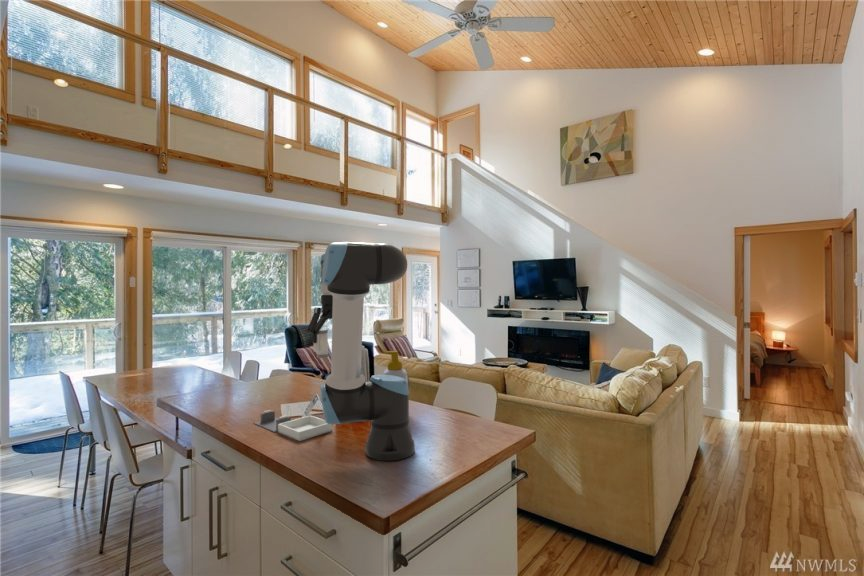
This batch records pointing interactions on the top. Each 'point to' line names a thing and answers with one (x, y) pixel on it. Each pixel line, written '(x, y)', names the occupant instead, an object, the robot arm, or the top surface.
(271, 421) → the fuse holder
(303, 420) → the parts tray
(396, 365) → the soap bottle
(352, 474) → the top surface
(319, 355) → the cylinder
